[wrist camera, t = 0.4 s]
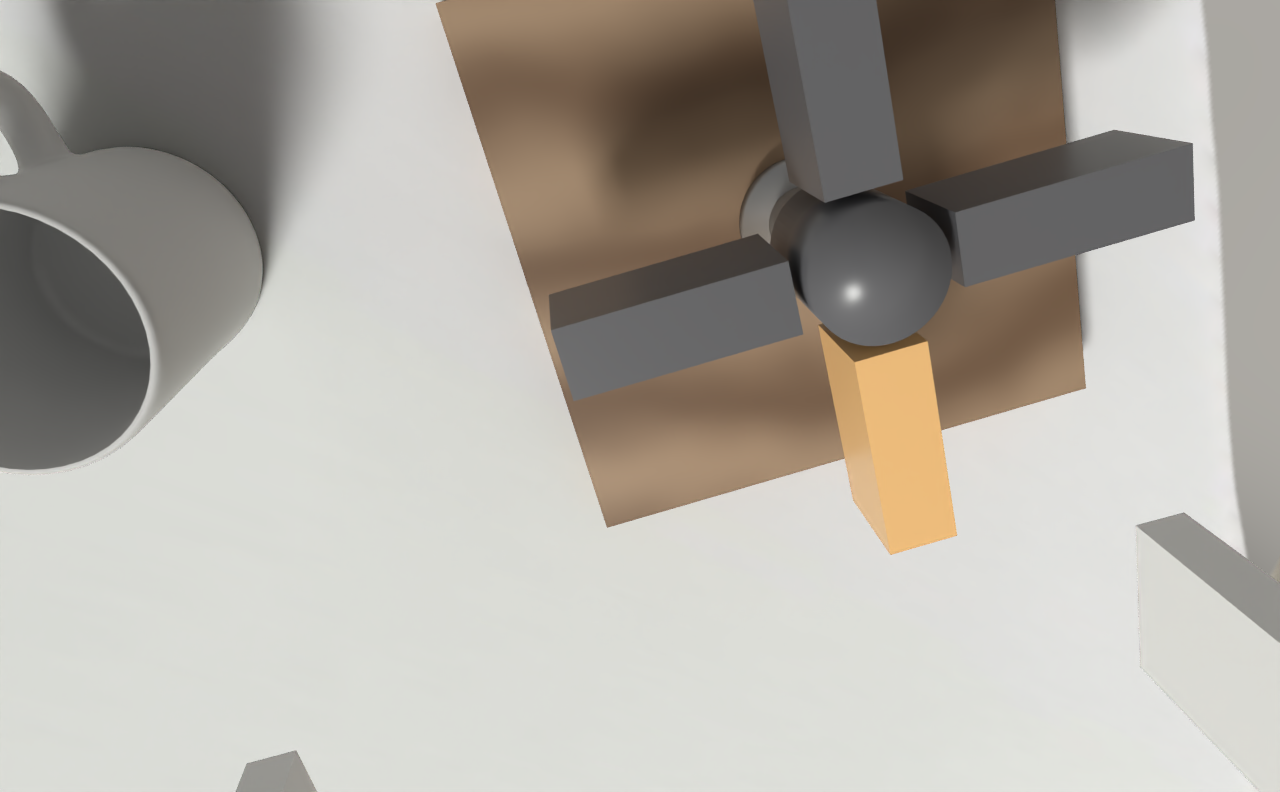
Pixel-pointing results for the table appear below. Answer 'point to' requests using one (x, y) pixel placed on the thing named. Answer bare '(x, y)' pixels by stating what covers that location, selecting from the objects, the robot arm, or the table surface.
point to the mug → (107, 288)
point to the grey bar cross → (866, 258)
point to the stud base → (749, 210)
